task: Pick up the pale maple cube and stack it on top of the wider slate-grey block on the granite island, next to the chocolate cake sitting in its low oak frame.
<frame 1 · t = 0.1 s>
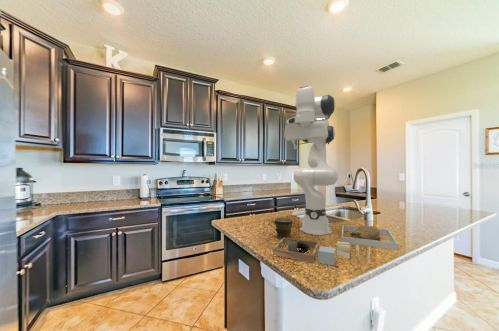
hand: (305, 148, 102), 48 cm above the countertop, tool pointing down, fingers open, 8 cm apart
oak cake frame: (296, 252, 97), on the countertop
grey square frame: (366, 238, 116), on the countertop
chocolate cake: (297, 253, 97), resting in oak cake frame
ceramic cup: (281, 238, 118), on the countertop
slate block: (327, 261, 87), on the countertop
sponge: (366, 239, 116), resting in grey square frame
maple block: (343, 255, 94), on the countertop
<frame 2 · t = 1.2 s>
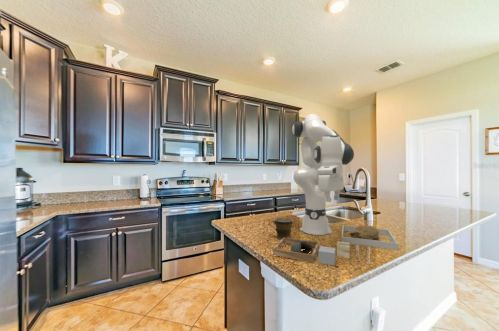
hand: (332, 200, 95), 24 cm above the countertop, tool pointing down, fingers open, 8 cm apart
chocolate cake: (300, 254, 96), resting in oak cake frame
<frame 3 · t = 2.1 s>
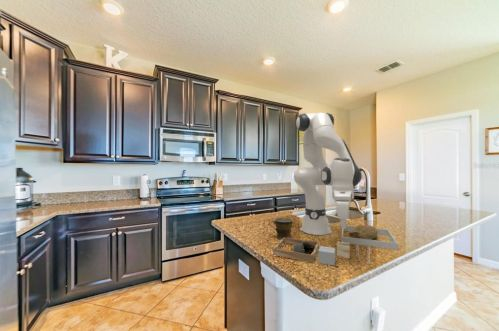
hand: (343, 225, 94), 13 cm above the countertop, tool pointing down, fingers open, 8 cm apart
chocolate cake: (303, 254, 96), resting in oak cake frame
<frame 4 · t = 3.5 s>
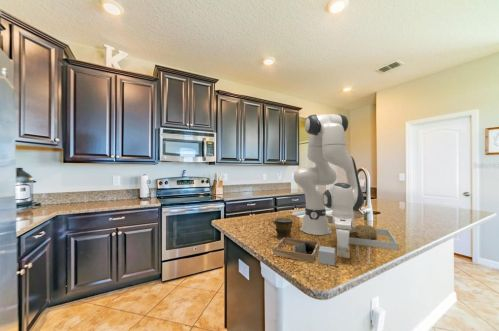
hand: (343, 251, 94), 2 cm above the countertop, tool pointing down, fingers closed on maple block, 5 cm apart
maple block: (343, 255, 94), on the countertop, touching gripper
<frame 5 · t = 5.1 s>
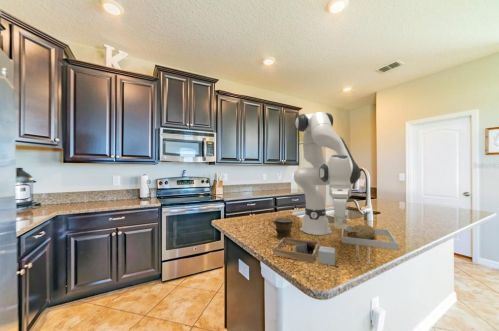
hand: (340, 223, 93), 14 cm above the countertop, tool pointing down, fingers closed on maple block, 5 cm apart
chocolate cake: (304, 254, 95), resting in oak cake frame
maple block: (340, 227, 92), point 13 cm above the countertop, touching gripper
when the fingers open (8 cm above the countertop, at t = 7.1 s): maple block drops 1 cm, resting on slate block.
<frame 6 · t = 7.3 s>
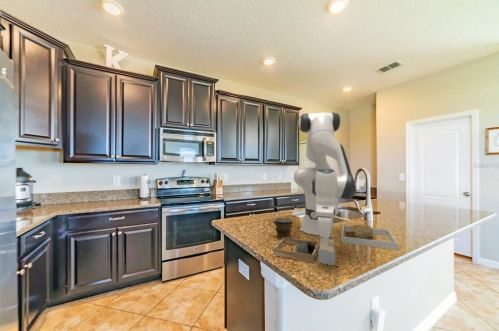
hand: (326, 241, 87), 8 cm above the countertop, tool pointing down, fingers open, 7 cm apart
chocolate cake: (305, 254, 96), resting in oak cake frame
maple block: (327, 249, 87), point 5 cm above the countertop, touching slate block
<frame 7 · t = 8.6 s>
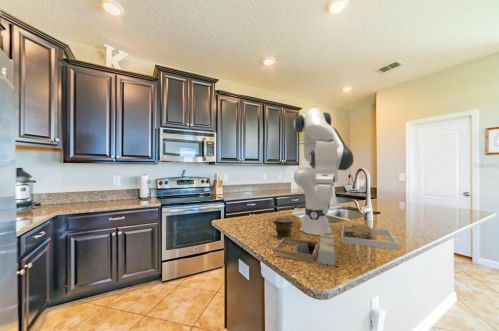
hand: (326, 211, 88), 21 cm above the countertop, tool pointing down, fingers open, 8 cm apart
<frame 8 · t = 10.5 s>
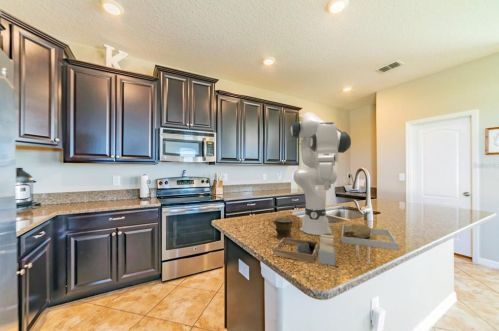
hand: (327, 189, 94), 29 cm above the countertop, tool pointing down, fingers open, 8 cm apart
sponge: (358, 237, 118), resting in grey square frame
at the end: maple block 0.1 cm off-centre on the slate block, point 5.0 cm above the slate block's base; the gripper is holding nothing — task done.
